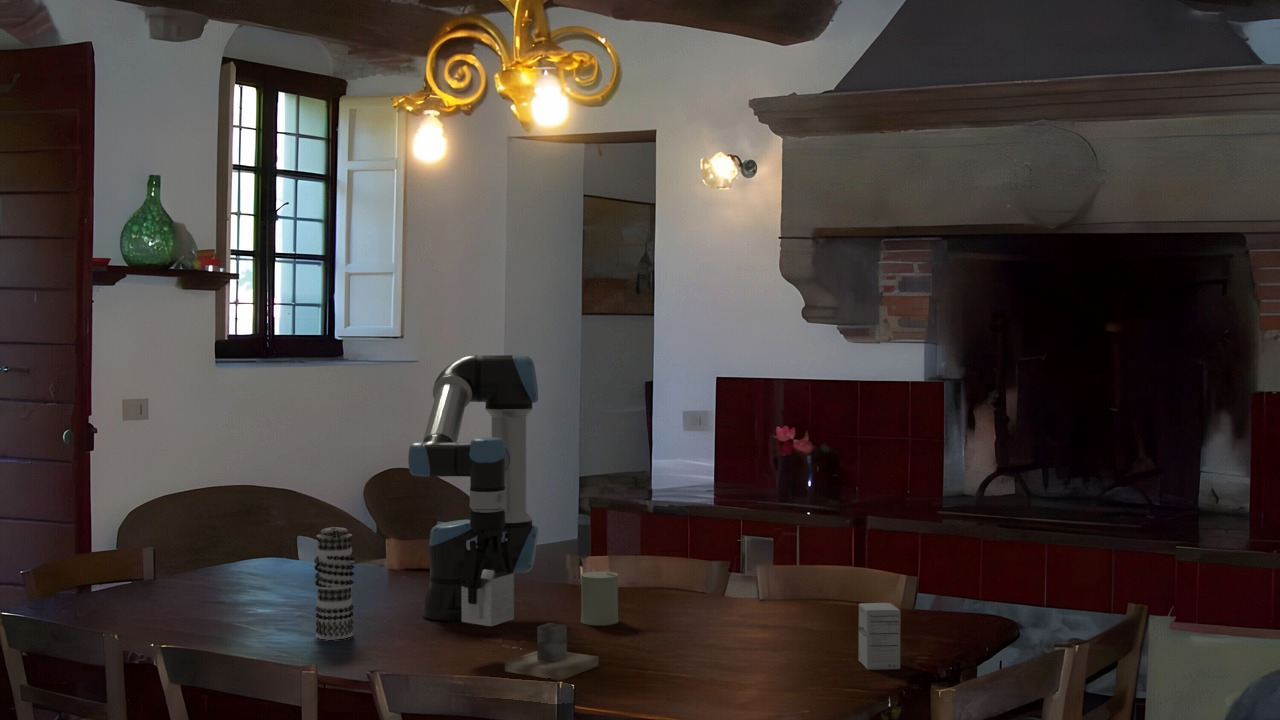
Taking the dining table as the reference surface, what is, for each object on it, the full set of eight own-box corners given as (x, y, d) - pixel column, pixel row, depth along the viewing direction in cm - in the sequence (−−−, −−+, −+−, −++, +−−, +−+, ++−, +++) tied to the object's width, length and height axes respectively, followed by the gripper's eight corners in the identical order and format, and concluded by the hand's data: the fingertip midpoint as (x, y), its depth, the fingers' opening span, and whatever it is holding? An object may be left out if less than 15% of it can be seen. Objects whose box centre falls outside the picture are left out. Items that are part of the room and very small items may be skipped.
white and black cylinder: (362, 633, 312) (362, 526, 312) (341, 642, 303) (341, 532, 303) (328, 630, 315) (328, 524, 315) (306, 639, 306) (306, 530, 306)
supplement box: (857, 661, 286) (857, 602, 286) (891, 660, 287) (891, 602, 287) (866, 670, 279) (866, 609, 279) (901, 669, 279) (901, 609, 279)
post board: (504, 671, 277) (504, 628, 277) (544, 657, 289) (544, 616, 289) (560, 680, 270) (560, 636, 270) (598, 666, 282) (598, 623, 282)
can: (613, 626, 320) (613, 576, 320) (576, 624, 322) (576, 575, 322) (622, 618, 329) (622, 570, 329) (585, 616, 331) (585, 568, 331)
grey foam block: (461, 621, 287) (461, 575, 287) (484, 614, 294) (484, 569, 294) (491, 626, 283) (491, 579, 283) (513, 619, 290) (513, 573, 290)
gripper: (470, 517, 277) (471, 626, 278) (530, 505, 295) (530, 607, 295) (442, 514, 281) (443, 621, 282) (503, 502, 299) (503, 603, 299)
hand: (487, 614), depth 289 cm, fingers closed on grey foam block, 8 cm apart
